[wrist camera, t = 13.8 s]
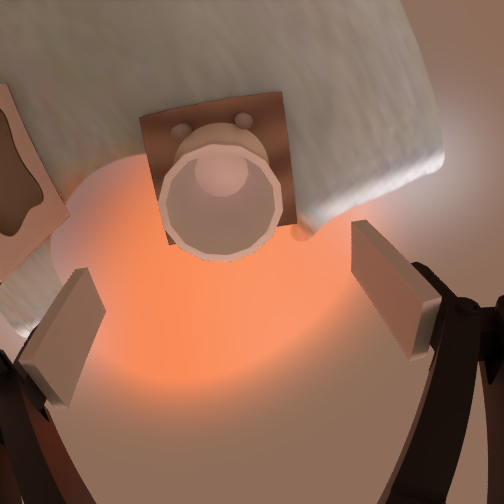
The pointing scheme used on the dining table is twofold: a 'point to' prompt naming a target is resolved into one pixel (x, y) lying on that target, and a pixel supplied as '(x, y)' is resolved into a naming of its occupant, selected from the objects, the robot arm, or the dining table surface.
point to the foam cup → (220, 201)
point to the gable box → (22, 192)
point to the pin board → (223, 138)
